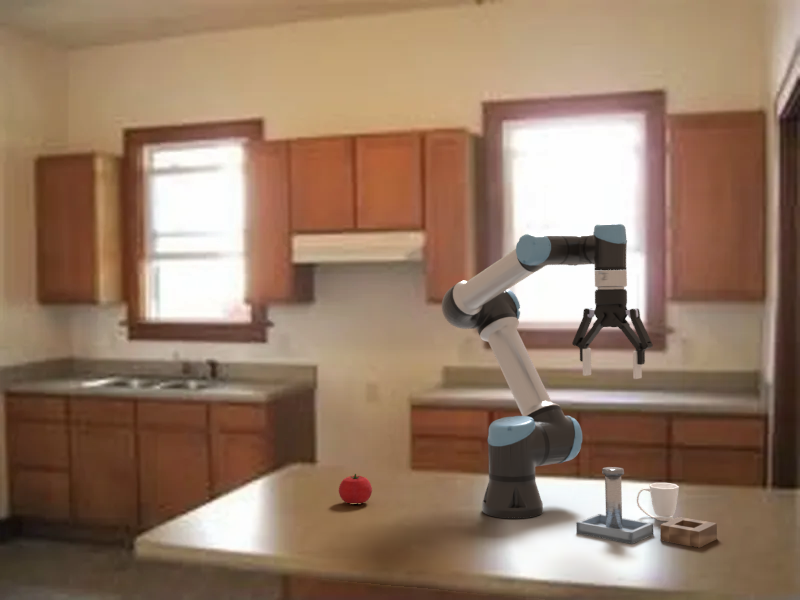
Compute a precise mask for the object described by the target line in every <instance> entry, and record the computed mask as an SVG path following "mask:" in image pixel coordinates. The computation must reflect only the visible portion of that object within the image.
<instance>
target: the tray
mask: <svg viewBox="0 0 800 600" xmlns="http://www.w3.org/2000/svg"><path fill="white" fill-rule="evenodd" d="M575 525H576V534H577V535H579V534H580V535H583V536H585V535H586V536H588V537H589V536H590V537H595V538H600V539H604V540H609V541H615V542H620V543H624V544H629V545H633V544H635V543H637V542H640V541H641V540H644V539H647V538H649V537H651V536H654V523H653V522H647V521H643V520H636V519H630V518H625V517H622V530H620V529H615V528H610V527H606V514H602V513H597V514H595V515H593V516H590V517H587V518H584V519H582V520H578V521H576V524H575Z"/></svg>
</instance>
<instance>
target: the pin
mask: <svg viewBox="0 0 800 600" xmlns="http://www.w3.org/2000/svg"><path fill="white" fill-rule="evenodd" d="M601 469H602V470H601V471H602V472H601V473H602V475H604V483H605V485H604V488H605V489H604V491H605V493H604V494H605V495H604V496H605V515H606V527H610V528H615V529H620V530H622V518H623V506H622V504H623V502H622V501H623V499H622V498H623V496H622V495H623V494H622V476H623V475H625V470H624V468H623V467H617V466H613V467H612V466H607V467H603V468H601Z"/></svg>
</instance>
